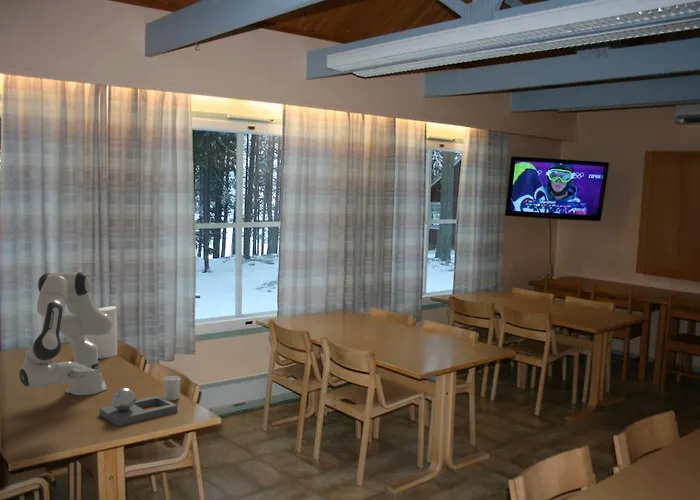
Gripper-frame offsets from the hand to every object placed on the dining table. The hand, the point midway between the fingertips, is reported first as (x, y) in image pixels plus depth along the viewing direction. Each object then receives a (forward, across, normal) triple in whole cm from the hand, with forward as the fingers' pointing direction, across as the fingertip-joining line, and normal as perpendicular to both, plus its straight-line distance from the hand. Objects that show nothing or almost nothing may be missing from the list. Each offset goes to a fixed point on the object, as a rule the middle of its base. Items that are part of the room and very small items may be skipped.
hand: (96, 368), depth 285 cm
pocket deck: (+20, 0, +23) cm, 31 cm away
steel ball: (+13, 0, +15) cm, 20 cm away
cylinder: (+53, +107, +17) cm, 120 cm away
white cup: (+42, +9, +21) cm, 48 cm away
